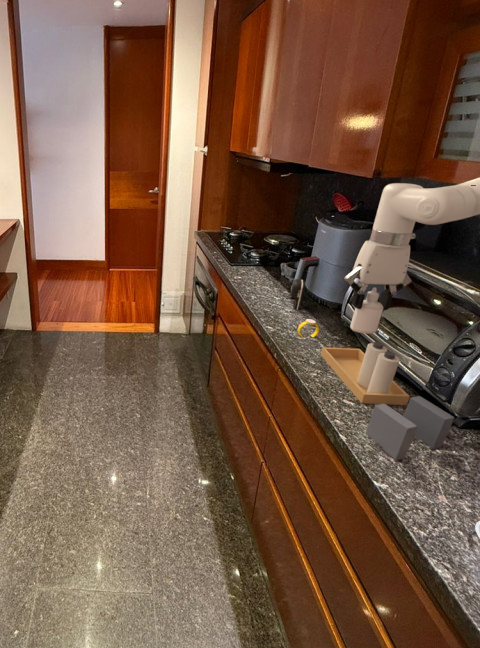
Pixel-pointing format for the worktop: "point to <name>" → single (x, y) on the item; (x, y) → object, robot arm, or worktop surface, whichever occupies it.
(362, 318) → the eye dropper bottle
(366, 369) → the white bottles
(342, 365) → the tray
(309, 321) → the watch
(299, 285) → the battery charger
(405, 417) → the grey rectangular blocks
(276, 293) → the worktop surface
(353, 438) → the worktop surface
